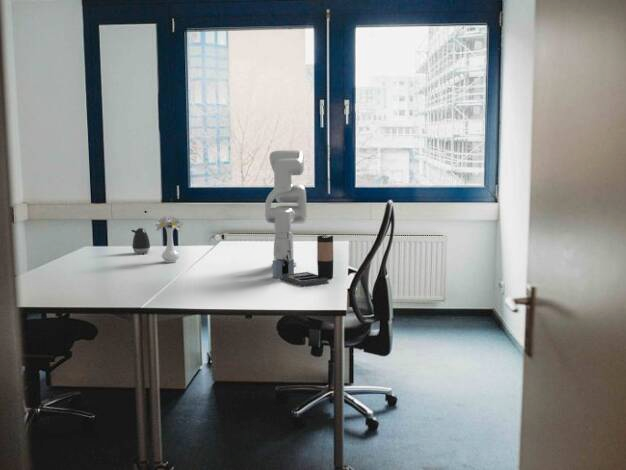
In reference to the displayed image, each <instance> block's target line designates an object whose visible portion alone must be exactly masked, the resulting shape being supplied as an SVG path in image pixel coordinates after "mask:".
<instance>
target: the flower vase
mask: <svg viewBox="0 0 626 470" xmlns="http://www.w3.org/2000/svg"><path fill="white" fill-rule="evenodd" d="M182 225H183V222H182V221H180V220H179V218H178V217H177V216H169V217H168V218H167V217H166V216H163V217H158V222H156V223H155V227H157V228H156V230H155V231H156V232H158V231H161V230H162V229H163V228H165V230H166V236H167V237H166V239H167V241H166V248H165V250H164V251H163V252H162V254H161V258H162V259H163V260H164V262H165V263H167V264H169V263H171V264H173V263H177V260H178V259H179V258H180V253H179V252H178V250H177V249H176V248H175V246H174V237H173V236H174V230H176V231H177V232H180V231H181V228H182V227H181V226H182Z"/></svg>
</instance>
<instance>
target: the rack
mask: <svg viewBox="0 0 626 470" xmlns="http://www.w3.org/2000/svg"><path fill="white" fill-rule="evenodd" d="M280 280H281V281H283V280H284V281H283V282H286V281H287V282H286V283H289V282H290V283H289V284H292V283H293V285H295V284H296V286H298V285H300V286H299V287H301V286H302V287H301V288H304V287H303V286H306V287H313V285H314V286H318V285H319V286H321V285H327V284H330V282H329V281H328V279H327V278H326V277H323V276H319V275H318V274H316V273H312V272H309V271H305V272H294V274H287V275H282V277H280Z"/></svg>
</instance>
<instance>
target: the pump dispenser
mask: <svg viewBox="0 0 626 470" xmlns="http://www.w3.org/2000/svg"><path fill="white" fill-rule="evenodd" d="M130 232H132V233H134V235H133V239H132V245H131V247H132V249H133V252H134V253H135V254H137V255H144V254H143V253H146V254H147V253H148V252H149V251H150V248H151V243H150V238H149V235H148V233H147V231H146V230H145V229H144V228H143V227H138V228H137V229H136V230H134V229H131V231H130Z"/></svg>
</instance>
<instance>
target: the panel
mask: <svg viewBox="0 0 626 470" xmlns="http://www.w3.org/2000/svg"><path fill="white" fill-rule="evenodd" d="M294 260H295V259H294V258H293V259H291V262H290V263H289V266H288V271H289V273H288V274H295V266H294V262H295V261H294ZM286 261H287V260H286ZM272 264H273V265H272V277H273V278H275V279H277V278H278V279H279V278H282V275H287V274H282V266H283V260H274V259H273V260H272Z"/></svg>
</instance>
